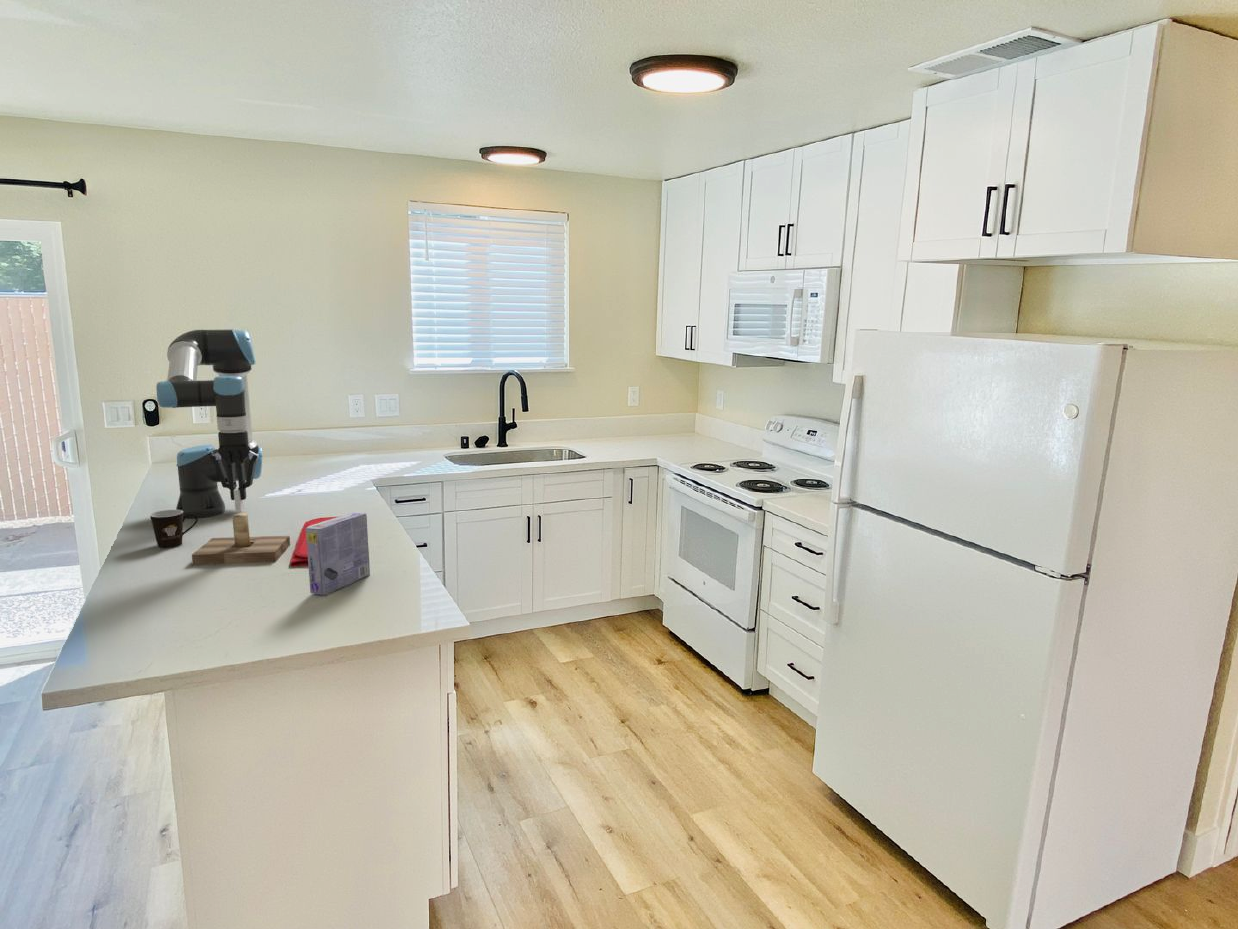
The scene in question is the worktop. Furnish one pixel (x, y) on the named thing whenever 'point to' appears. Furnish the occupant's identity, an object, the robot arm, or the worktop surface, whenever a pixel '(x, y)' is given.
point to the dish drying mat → (305, 543)
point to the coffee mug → (169, 527)
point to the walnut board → (241, 550)
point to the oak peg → (241, 530)
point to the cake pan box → (337, 553)
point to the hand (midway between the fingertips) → (239, 510)
